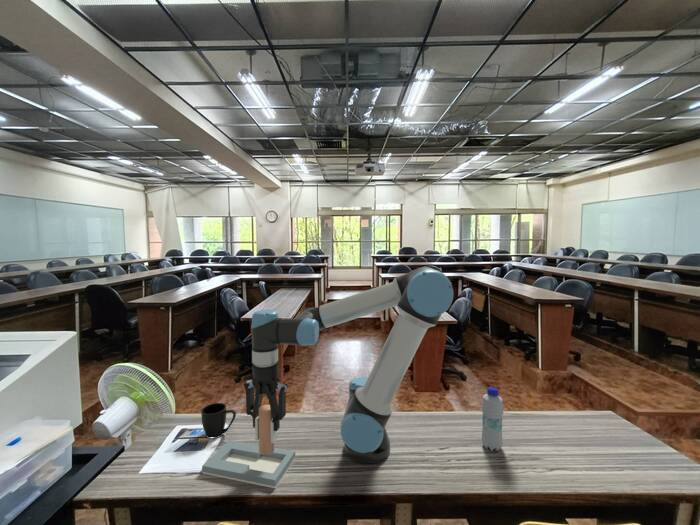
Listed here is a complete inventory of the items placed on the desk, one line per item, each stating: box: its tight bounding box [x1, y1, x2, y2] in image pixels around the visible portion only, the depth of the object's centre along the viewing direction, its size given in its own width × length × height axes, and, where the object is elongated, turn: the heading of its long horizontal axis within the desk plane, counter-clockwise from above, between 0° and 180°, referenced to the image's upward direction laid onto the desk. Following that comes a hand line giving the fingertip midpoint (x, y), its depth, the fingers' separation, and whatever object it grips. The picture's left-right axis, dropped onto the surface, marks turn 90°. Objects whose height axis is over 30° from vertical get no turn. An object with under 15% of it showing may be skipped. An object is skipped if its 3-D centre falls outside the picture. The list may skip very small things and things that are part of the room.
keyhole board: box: [201, 440, 296, 489], centre depth 98 cm, size 24×13×2 cm, turn 75°
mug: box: [201, 402, 237, 438], centre depth 115 cm, size 8×12×10 cm
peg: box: [258, 404, 275, 455], centre depth 96 cm, size 4×4×13 cm
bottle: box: [481, 386, 505, 452], centre depth 106 cm, size 7×7×20 cm
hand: (266, 438), depth 97 cm, fingers closed on peg, 4 cm apart
